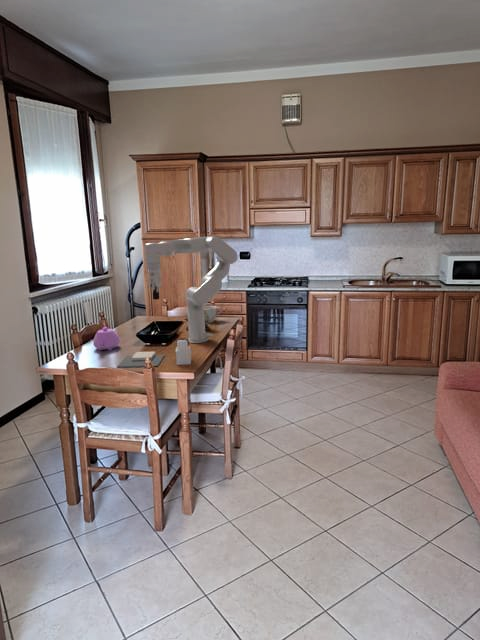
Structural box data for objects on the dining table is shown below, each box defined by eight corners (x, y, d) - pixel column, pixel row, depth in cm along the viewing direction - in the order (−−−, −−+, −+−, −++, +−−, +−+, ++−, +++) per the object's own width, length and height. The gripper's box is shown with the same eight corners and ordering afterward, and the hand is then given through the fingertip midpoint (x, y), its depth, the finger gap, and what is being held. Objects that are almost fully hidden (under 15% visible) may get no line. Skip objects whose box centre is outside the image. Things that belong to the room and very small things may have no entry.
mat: (164, 355, 232) (164, 354, 232) (157, 366, 215) (157, 365, 215) (126, 356, 233) (126, 355, 232) (117, 367, 216) (117, 366, 216)
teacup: (221, 323, 300) (221, 308, 297) (199, 323, 300) (199, 309, 298) (222, 319, 311) (222, 305, 309) (201, 319, 312) (200, 305, 309)
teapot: (111, 354, 238) (109, 332, 236) (86, 354, 240) (83, 332, 238) (125, 343, 258) (123, 323, 255) (102, 343, 260) (99, 323, 257)
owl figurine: (180, 331, 283) (179, 304, 279) (190, 327, 293) (188, 301, 290) (205, 333, 275) (203, 306, 272) (214, 328, 286) (213, 302, 282)
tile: (155, 351, 233) (151, 357, 223) (155, 354, 233) (151, 360, 223) (136, 351, 233) (131, 357, 223) (136, 354, 234) (131, 360, 224)
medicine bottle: (177, 360, 223) (175, 337, 221) (191, 359, 224) (189, 337, 221) (176, 365, 216) (174, 341, 214) (190, 364, 217) (189, 340, 214)
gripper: (157, 267, 232) (160, 301, 236) (163, 264, 247) (165, 296, 251) (143, 267, 233) (146, 302, 237) (149, 264, 247) (152, 297, 251)
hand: (156, 299), depth 244 cm, fingers closed
